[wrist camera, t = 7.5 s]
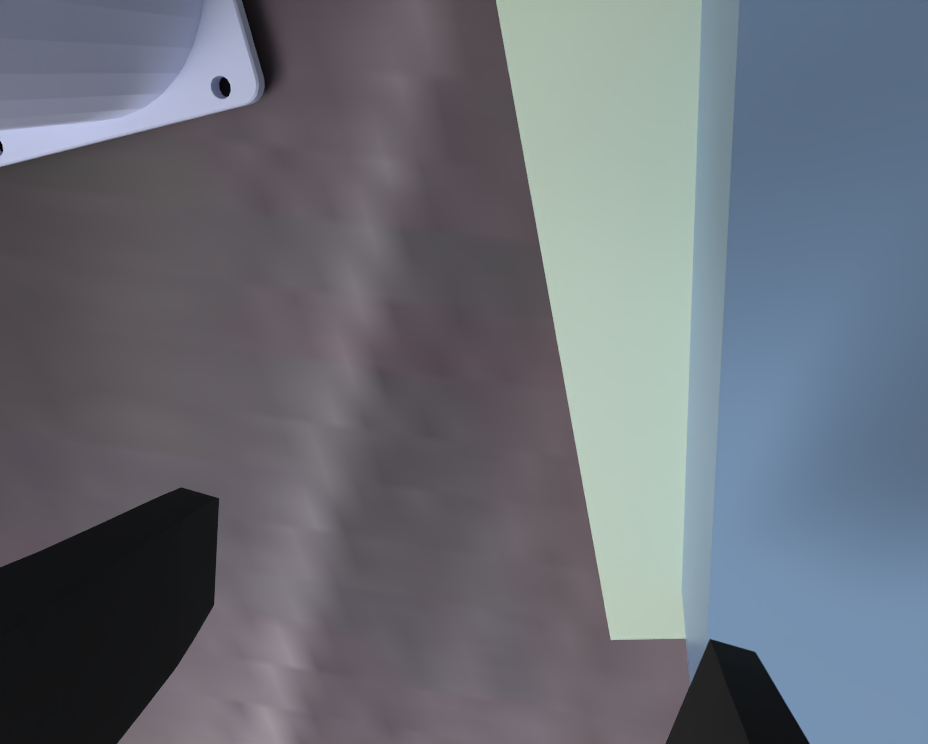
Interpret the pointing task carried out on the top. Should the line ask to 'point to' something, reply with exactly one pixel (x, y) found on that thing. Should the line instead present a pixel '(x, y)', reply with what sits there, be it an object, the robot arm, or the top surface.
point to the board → (618, 267)
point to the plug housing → (813, 359)
